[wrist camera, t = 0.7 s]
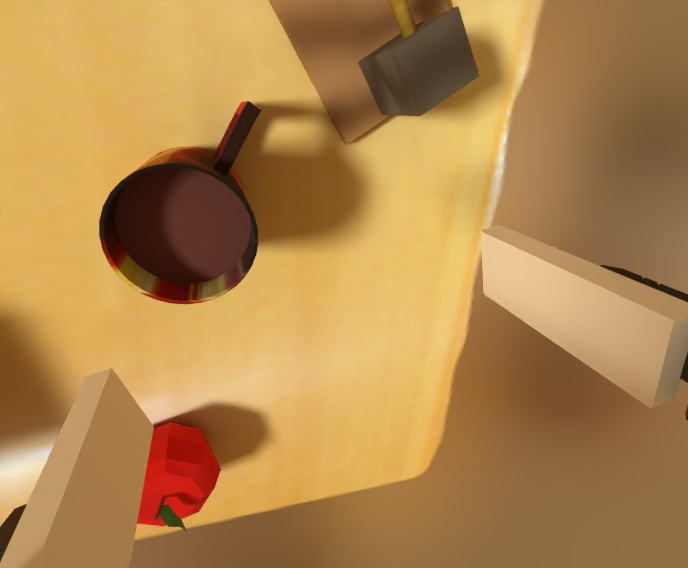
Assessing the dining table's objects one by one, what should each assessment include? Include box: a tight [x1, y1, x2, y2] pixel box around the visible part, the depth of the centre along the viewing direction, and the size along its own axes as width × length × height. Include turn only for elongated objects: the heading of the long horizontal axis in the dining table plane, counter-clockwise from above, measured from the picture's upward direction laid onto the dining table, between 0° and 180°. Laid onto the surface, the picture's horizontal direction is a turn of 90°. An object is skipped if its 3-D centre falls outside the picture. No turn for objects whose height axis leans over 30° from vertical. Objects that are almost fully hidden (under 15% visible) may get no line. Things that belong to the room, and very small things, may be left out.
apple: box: [137, 422, 221, 530], centre depth 41 cm, size 11×11×10 cm
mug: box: [99, 101, 261, 304], centre depth 29 cm, size 10×14×12 cm
